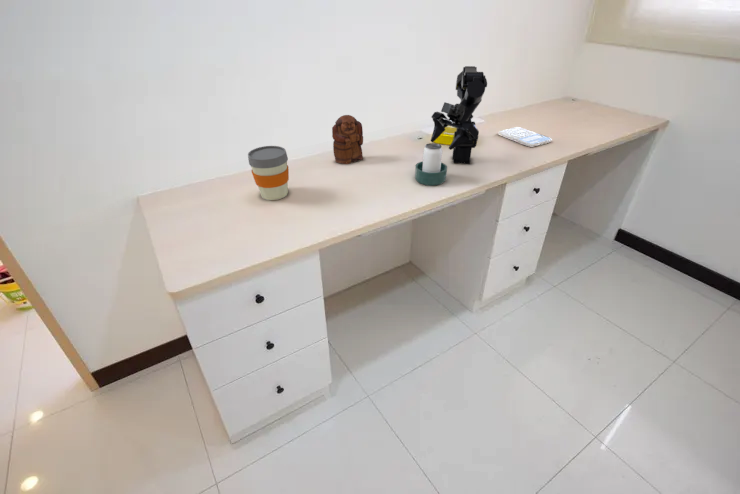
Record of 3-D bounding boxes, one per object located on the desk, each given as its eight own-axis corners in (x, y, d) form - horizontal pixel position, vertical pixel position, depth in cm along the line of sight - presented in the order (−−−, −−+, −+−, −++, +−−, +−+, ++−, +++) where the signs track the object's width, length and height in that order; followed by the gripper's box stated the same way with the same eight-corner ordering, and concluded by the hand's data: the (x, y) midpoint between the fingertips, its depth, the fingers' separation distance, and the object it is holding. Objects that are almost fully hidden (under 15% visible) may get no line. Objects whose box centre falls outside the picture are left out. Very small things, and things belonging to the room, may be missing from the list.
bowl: (445, 173, 140) (447, 161, 137) (445, 187, 131) (447, 174, 128) (415, 172, 142) (416, 159, 139) (413, 185, 133) (414, 172, 130)
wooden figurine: (340, 166, 147) (337, 120, 137) (333, 160, 152) (329, 116, 141) (366, 159, 152) (364, 115, 142) (358, 154, 157) (356, 111, 146)
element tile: (432, 143, 166) (433, 132, 164) (440, 132, 178) (441, 122, 175) (466, 147, 162) (467, 136, 159) (472, 136, 173) (473, 125, 170)
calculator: (517, 129, 179) (518, 125, 178) (552, 142, 165) (553, 138, 164) (496, 134, 174) (497, 130, 173) (531, 148, 160) (532, 143, 158)
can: (439, 182, 133) (442, 150, 126) (420, 181, 134) (423, 148, 127) (440, 174, 138) (443, 143, 131) (422, 173, 139) (424, 142, 132)
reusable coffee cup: (275, 206, 122) (267, 163, 113) (248, 197, 128) (238, 155, 119) (300, 190, 131) (294, 149, 122) (274, 183, 136) (266, 143, 127)
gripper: (437, 87, 130) (411, 125, 132) (478, 98, 118) (449, 140, 119) (451, 107, 138) (426, 142, 140) (490, 119, 126) (463, 157, 127)
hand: (440, 145), depth 131 cm, fingers open, 9 cm apart
